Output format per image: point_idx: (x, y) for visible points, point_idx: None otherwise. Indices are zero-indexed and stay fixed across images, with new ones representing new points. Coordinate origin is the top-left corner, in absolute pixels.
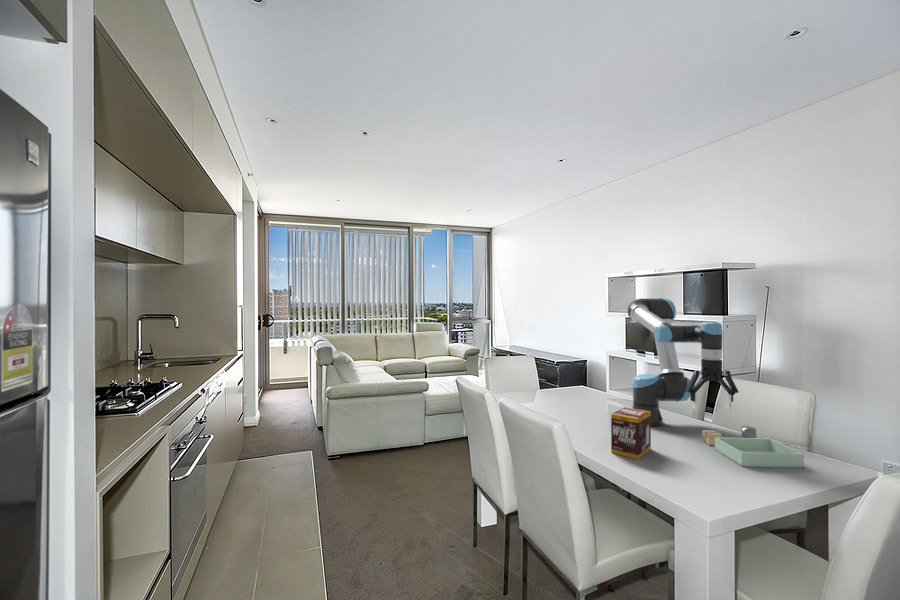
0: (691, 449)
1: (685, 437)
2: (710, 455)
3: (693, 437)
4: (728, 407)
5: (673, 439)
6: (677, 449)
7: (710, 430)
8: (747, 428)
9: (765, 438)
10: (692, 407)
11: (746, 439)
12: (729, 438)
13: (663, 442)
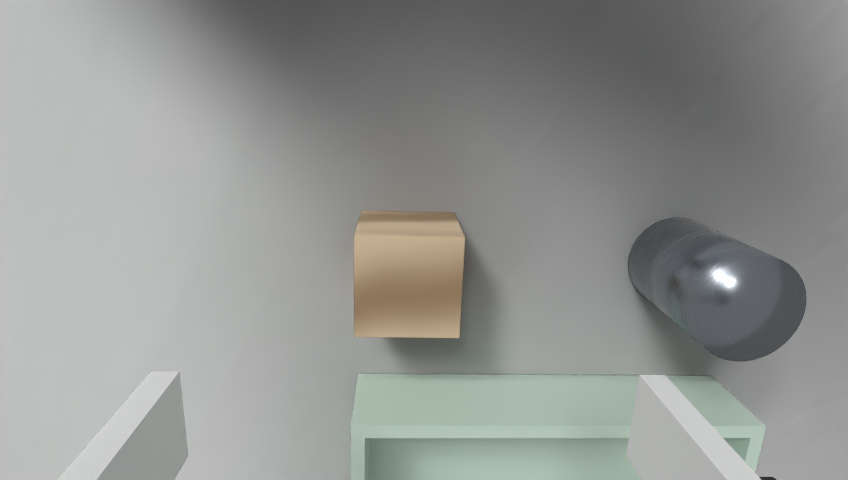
0: (198, 375)
1: (274, 102)
2: (273, 467)
3: (344, 100)
4: (643, 460)
5: (147, 161)
6: (98, 380)
7: (428, 237)
8: (726, 323)
9: (731, 427)
10: (146, 379)
11: (581, 433)
12: (455, 437)
13: (39, 240)
